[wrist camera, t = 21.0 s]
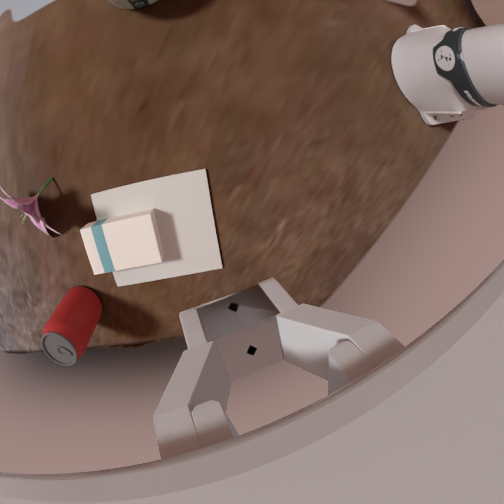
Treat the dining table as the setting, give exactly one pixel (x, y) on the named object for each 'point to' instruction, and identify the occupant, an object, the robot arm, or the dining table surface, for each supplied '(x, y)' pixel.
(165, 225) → the mat
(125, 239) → the card box
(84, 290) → the beer can
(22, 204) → the lily
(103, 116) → the dining table surface
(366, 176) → the dining table surface
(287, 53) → the dining table surface
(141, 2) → the food container
